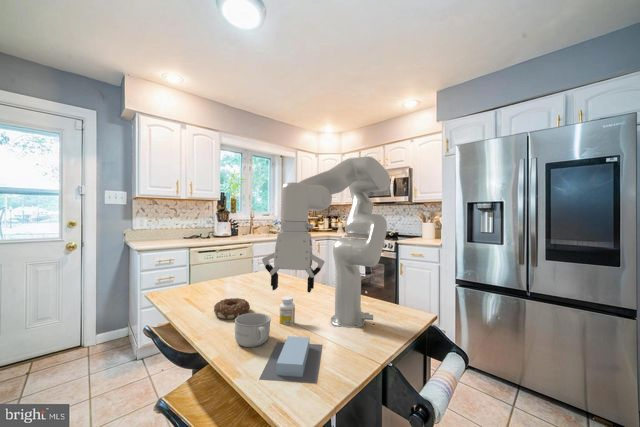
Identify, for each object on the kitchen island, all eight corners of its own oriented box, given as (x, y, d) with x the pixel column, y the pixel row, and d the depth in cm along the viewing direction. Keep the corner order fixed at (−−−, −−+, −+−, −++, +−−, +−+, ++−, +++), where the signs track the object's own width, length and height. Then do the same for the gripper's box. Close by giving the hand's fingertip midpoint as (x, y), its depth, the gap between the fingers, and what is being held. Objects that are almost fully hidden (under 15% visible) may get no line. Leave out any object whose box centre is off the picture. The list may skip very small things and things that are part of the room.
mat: (322, 347, 80) (322, 344, 80) (316, 387, 62) (316, 383, 62) (277, 345, 81) (277, 342, 81) (258, 383, 63) (258, 379, 63)
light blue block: (309, 347, 79) (309, 337, 79) (302, 376, 65) (302, 364, 65) (287, 346, 79) (287, 336, 79) (276, 375, 65) (276, 363, 65)
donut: (205, 317, 102) (205, 304, 102) (231, 305, 115) (231, 294, 115) (233, 324, 96) (234, 310, 96) (257, 311, 109) (258, 299, 109)
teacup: (232, 339, 85) (232, 314, 85) (266, 332, 90) (266, 309, 89) (238, 361, 72) (239, 332, 72) (277, 353, 77) (277, 326, 77)
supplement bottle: (287, 320, 100) (287, 294, 100) (297, 324, 97) (297, 297, 97) (276, 324, 96) (276, 298, 96) (286, 329, 93) (287, 301, 92)
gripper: (326, 228, 76) (324, 288, 75) (268, 226, 78) (265, 284, 77) (324, 229, 68) (322, 296, 68) (259, 227, 70) (257, 291, 70)
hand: (292, 290), depth 73 cm, fingers open, 9 cm apart
